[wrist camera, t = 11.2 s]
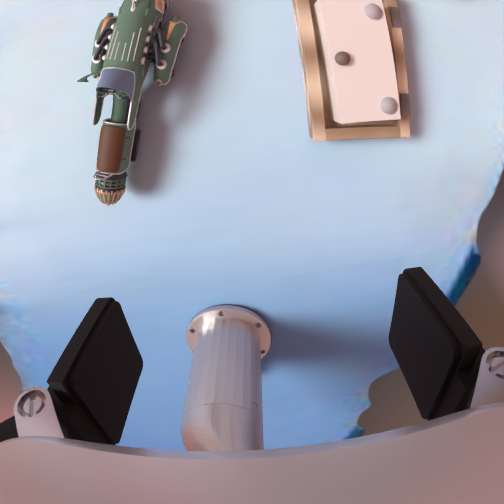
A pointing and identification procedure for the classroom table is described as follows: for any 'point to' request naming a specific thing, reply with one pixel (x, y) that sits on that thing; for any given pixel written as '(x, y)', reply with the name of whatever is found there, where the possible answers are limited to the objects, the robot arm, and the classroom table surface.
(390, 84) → the pale pink knobbed block
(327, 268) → the classroom table surface
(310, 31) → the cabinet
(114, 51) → the hoverbike
